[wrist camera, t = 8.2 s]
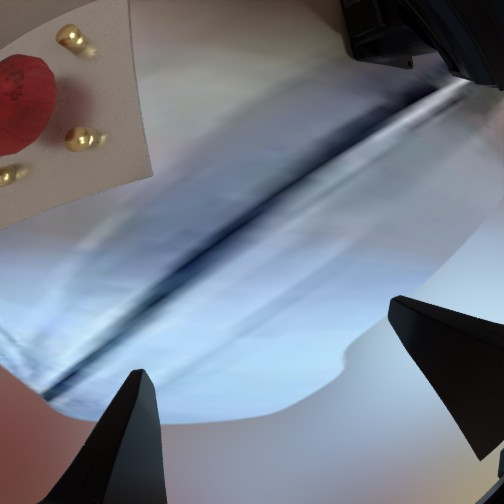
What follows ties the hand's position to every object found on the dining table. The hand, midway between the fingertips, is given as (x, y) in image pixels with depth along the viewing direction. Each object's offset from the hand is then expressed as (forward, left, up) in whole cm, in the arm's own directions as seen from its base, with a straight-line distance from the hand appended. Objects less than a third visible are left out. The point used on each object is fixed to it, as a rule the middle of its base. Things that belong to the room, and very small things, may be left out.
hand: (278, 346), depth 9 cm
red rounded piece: (+11, -12, -11) cm, 20 cm away
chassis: (+11, -12, -12) cm, 20 cm away
